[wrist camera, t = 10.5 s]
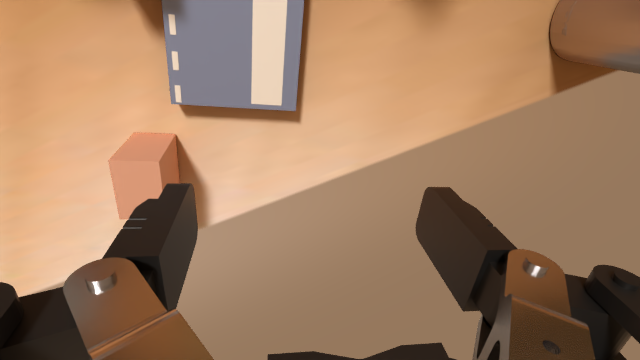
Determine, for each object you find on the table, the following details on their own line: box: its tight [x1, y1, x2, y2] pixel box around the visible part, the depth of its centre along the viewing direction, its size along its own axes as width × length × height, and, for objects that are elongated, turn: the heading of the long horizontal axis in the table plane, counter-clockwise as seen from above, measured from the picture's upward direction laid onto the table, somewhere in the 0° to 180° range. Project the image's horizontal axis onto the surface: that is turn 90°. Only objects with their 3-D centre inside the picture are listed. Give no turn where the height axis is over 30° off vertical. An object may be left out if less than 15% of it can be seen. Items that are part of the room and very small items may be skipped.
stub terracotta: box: [108, 133, 180, 219], centre depth 33 cm, size 4×6×7 cm, turn 173°
